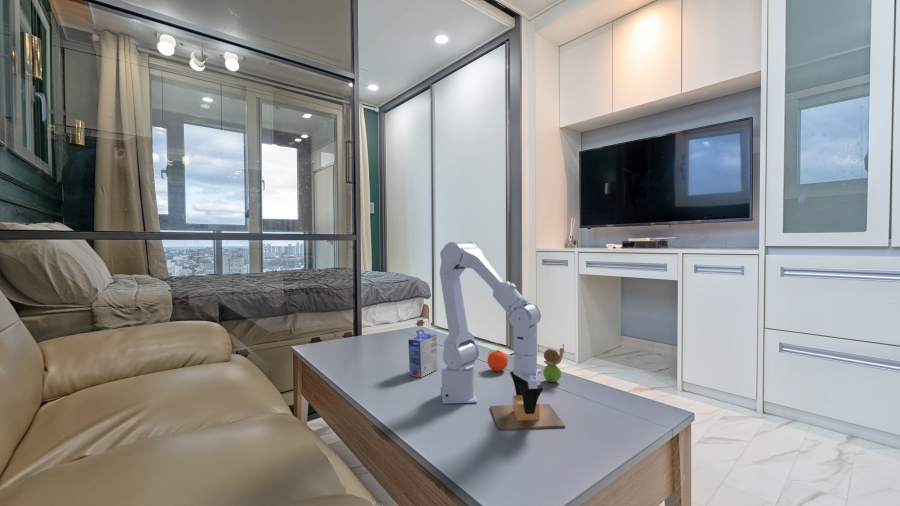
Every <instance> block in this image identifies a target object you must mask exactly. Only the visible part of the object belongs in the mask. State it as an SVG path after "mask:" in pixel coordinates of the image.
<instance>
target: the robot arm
mask: <svg viewBox="0 0 900 506" xmlns="http://www.w3.org/2000/svg"><path fill="white" fill-rule="evenodd" d="M439 255H440V261H441V262H440V263H441V264H440V268H439V278H440V284H441V292H442V298H443V304H444V309H445V316H446V317H445V318H446V323H447V324H446V325H447V330H448V335H447V337H446V338H445V339H444V341H443V353H442V359H443V362H444V364H445V366H442V367H441V387H440V395H441V398H442V401H441V402H442V404H443V405H444V404H470V403H472V404H473V403H474V404H475V403H478V399H477V396H476V392H475V365H476V361H477V359H478V358H479V356H480V355H479V354H480V351H479V347H478V345H477V343H476V340H475V336H474V335H473V334H472V333H471V332H470V331H469V329H468V323H467V316H466V309H465V304H464V303H465V302H464V297H463V290H462V284H461V278H460V277H461V275H462V274H463V273H464V271H465V270H466V269H472V270H473V271H475V272H476V274H478V276H479V277H480V278H481V279H482V280H483V281H484V282H485V283H486V284H487V285H488V286H489V287H490V288H491V289H492V297H493V298H494V299H495V300H496V301H497V303H498V304H499V305H500V307H501V308H503V310H504V311H505V313H506V314H507V315H508V316H509V317H508V319H509V323H510V325H511V326H512V329H513V369H512V371H509V374H510V376H511V379H512V381H513V384H514V385H513V386H514V388H515V389H514V391H515V395H522V398H523V405H524V411H525V413H526V414H534V412H535V408H536V404H537V401H538V400H539V397H540V395H541V394H542V392H543V390H544V387H543V385H542V384H538V383H539V381H538V375H539V374H543V372H542V371H543V370H542V369H541V368H538V324H539V322H540V321H541V318H542V315H541V310H540V309H539V307H538V306H537V304H535V303H532V302H529V300H528V299H527V298H525V297H524V296H523V295H522V294H521V293H520V292H519V291H518V290H517V285H516V284H515V283H511V281H504V280H502V278H501V276H500V275H499V274H498V273H497V272H496V271H495V269H494V268H493V267H492V265H491V264H490V262H488V260H487V259H486V257H484V254H483V252H482V250H481V249H480V248H479V247H478V246H477V245H476V244H475V243H474V242H472V241H467V242H453V241H451V242H447V243H445V245H444V247H443V248H442V249H441V250H440V252H439Z"/></svg>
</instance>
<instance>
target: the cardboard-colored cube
mask: <svg viewBox="0 0 900 506" xmlns="http://www.w3.org/2000/svg"><path fill="white" fill-rule="evenodd" d="M540 404H541V403H540V402H539V401H538V400H537V404H536V408H535V412H534V414H526V413H525V411H524V405H523V398H522V395H516V394H513V395H512V405H513V412H514V414H515V416H516V418H517V420H518V421H519V420H540Z"/></svg>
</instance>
